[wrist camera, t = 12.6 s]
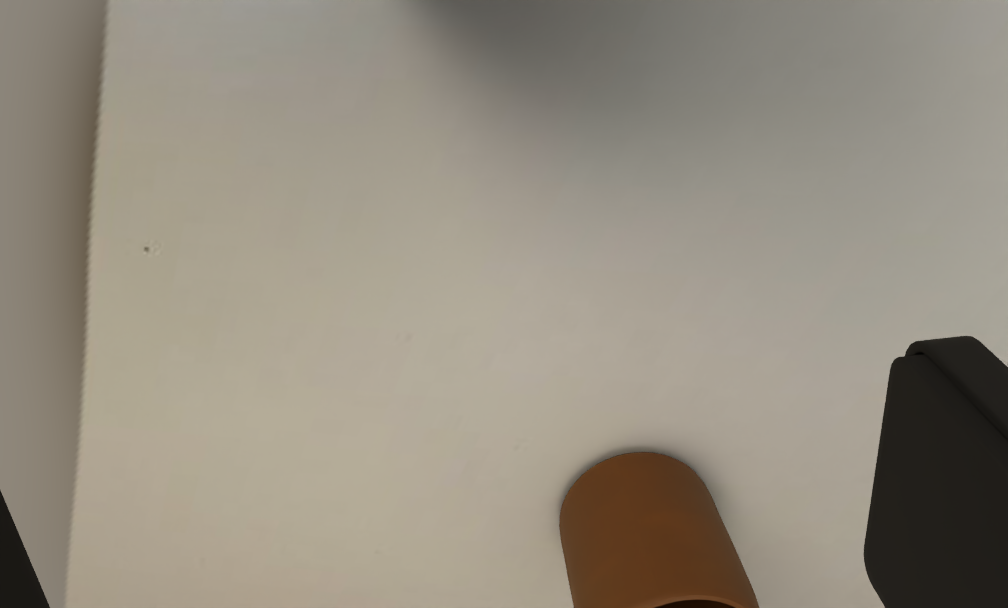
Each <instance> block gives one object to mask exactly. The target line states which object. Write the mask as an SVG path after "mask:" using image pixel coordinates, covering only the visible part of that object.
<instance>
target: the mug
mask: <svg viewBox="0 0 1008 608" xmlns="http://www.w3.org/2000/svg"><path fill="white" fill-rule="evenodd" d="M559 526H560V536H561V543H562V548H563V553H564V558H565V563H566V568H567V574H568V580H569V585H570V590H571V595H572V600H573V605H574V608H759V605H758V602H757V599H756V596H755V593H754V591H753V588H752V586H751V584H750V581H749V579H748V577H747V575H746V572H745V570H744V568H743V565H742V563H741V561H740V559H739V556H738V554H737V552H736V550H735V547H734V545H733V543H732V541H731V538H730V536H729V534H728V532H727V530H726V528H725V525H724V523H723V521H722V519H721V517H720V515H719V513H718V510H717V508H716V506H715V503H714V501H713V499H712V497H711V495H710V493H709V491H708V489H707V488H706V486H705V484H704V482H703V481H702V480H701V479H700V477H699V476H698V475H697V474H696V473H695V472H694V471H693V470H692V469H691V468H690V467H689V466H687V465H686V464H684V463H683V462H681V461H679V460H676V459H674V458H672V457H669V456H666V455H662V454H657V453H649V452H636V453H628V454H623V455H619V456H615V457H612V458H610V459H607V460H605V461H603V462H601V463H599V464H597V465H595V466H594V467H592V468H590V469H589V470H588V471H587V472H585V473H584V474H583V475H582V476H581V477H580V478H579V479H578V480H577V481H576V482H575V483H574V485H573V486H572V487H571V489H570V490H569V492H568V494H567V495H566V497H565V499H564V502H563V504H562V508H561V512H560V525H559Z"/></svg>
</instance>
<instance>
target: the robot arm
mask: <svg viewBox="0 0 1008 608" xmlns="http://www.w3.org/2000/svg"><path fill="white" fill-rule="evenodd" d="M864 562H865V567H866V571H867V574H868V577H869V580H870V582H871V584H872V586H873V588H874V589H875V591H876V593H877V594H878V596H879V598H880V599H881V601H882V603H883V604H884V606H885V608H1008V367H1007V366H1006V365H1005V364H1004V363H1002V362H1001V361H1000V360H999V359H998V358H997V357H996V356H995V355H994V354H993V353H992V352H991V351H989V350H988V349H987V348H986V347H985V346H984V345H983V344H982V343H981V342H980V341H978V340H977V339H975V338H974V337H971V336H960V337H951V338H942V339H933V340H924V341H916V342H914V343H912V344H911V345H910V346H909V348H908V349H907V351H906V354H905V356H904V357H898V358H896V359H895V360H894V361H893V363H892V365H891V369H890V374H889V381H888V388H887V395H886V402H885V408H884V415H883V422H882V429H881V436H880V442H879V449H878V456H877V463H876V470H875V477H874V483H873V490H872V497H871V504H870V511H869V517H868V524H867V531H866V538H865V545H864ZM0 608H50V607H49V604H48V602H47V600H46V598H45V595H44V592H43V590H42V588H41V585H40V583H39V581H38V578H37V576H36V574H35V571H34V569H33V567H32V564H31V562H30V559H29V557H28V555H27V552H26V550H25V548H24V545H23V543H22V540H21V538H20V536H19V533H18V531H17V529H16V526H15V524H14V522H13V519H12V517H11V514H10V512H9V510H8V507H7V505H6V503H5V501H4V498H3V496H2V493H1V491H0Z"/></svg>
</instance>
